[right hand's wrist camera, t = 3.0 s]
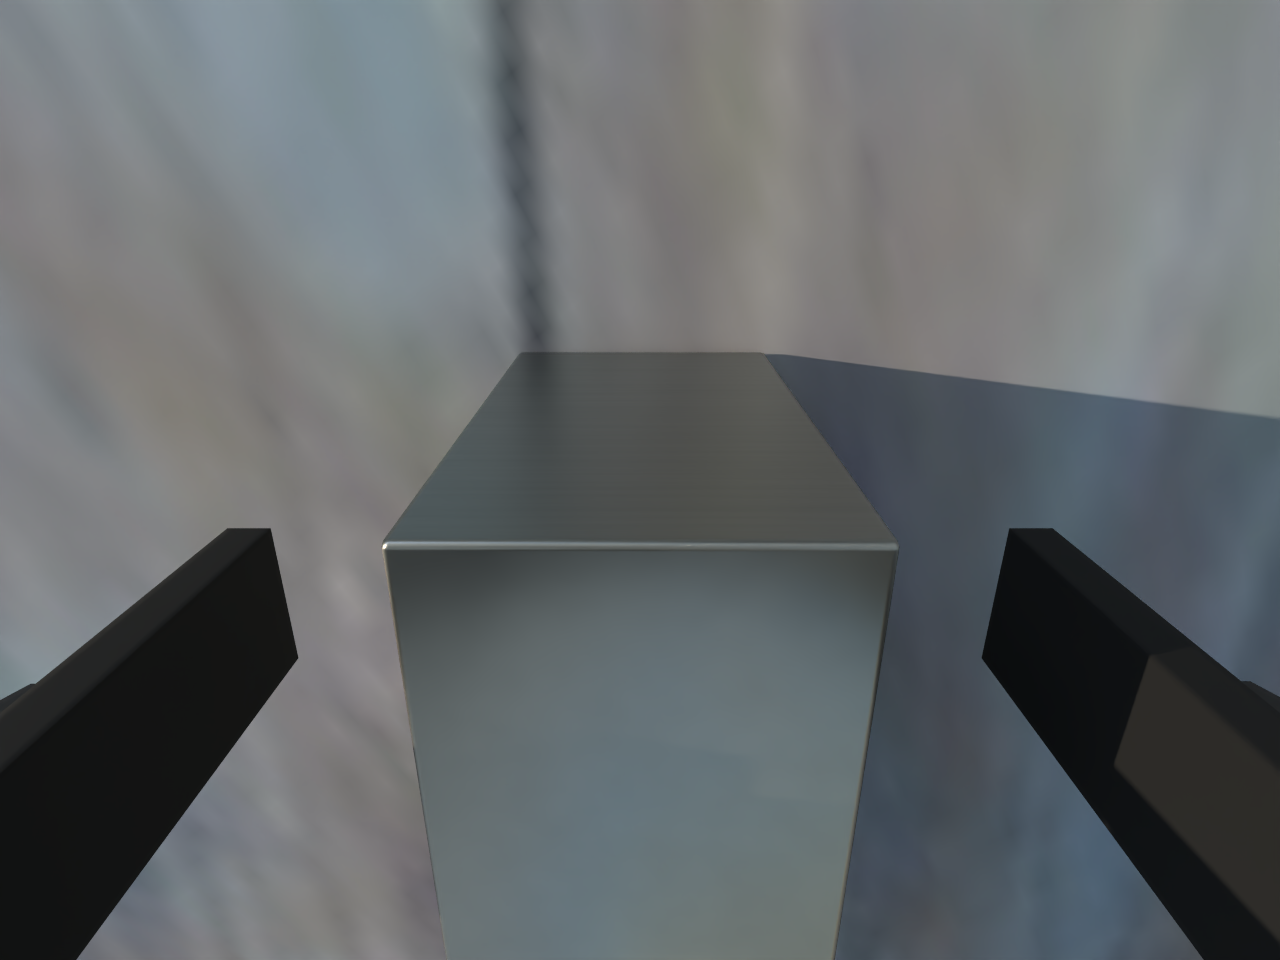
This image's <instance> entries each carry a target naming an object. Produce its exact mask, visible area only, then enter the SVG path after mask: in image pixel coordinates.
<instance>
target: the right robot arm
mask: <svg viewBox="0 0 1280 960" xmlns="http://www.w3.org/2000/svg"><path fill="white" fill-rule="evenodd" d="M297 659H298V654H297V650H296V645H295V640H294V636H293V631H292V626H291V622H290V617H289V612H288V608H287V603H286V598H285V593H284V589H283V584H282V579H281V575H280V570H279V565H278V561H277V556H276V551H275V547H274V542H273V537H272V533H271V528H227V529H226V530H225V531H224V532H222V533H221V534H220V535H219V536H218V537H216V538H215V539H214V540H213V541H211V542H210V543H209V544H208V545H206V546H205V547H204V548H203V549H201V550H200V551H199V552H198V553H197V554H195V555H194V556H193V557H192V558H190V559H189V560H188V561H187V562H185V563H184V564H183V565H182V566H181V567H179V568H178V569H177V570H176V571H174V572H173V573H172V574H171V575H169V576H168V577H167V578H166V579H164V580H163V581H162V582H161V583H160V584H158V585H157V586H156V587H155V588H153V589H152V590H151V591H150V592H148V593H147V594H146V595H145V596H144V597H142V598H141V599H140V600H139V601H137V602H136V603H135V604H134V605H132V606H131V607H130V608H129V609H127V610H126V611H125V612H124V613H123V614H121V615H120V616H119V617H118V618H116V619H115V620H114V621H113V622H111V623H110V624H109V625H108V626H107V627H105V628H104V629H103V630H102V631H100V632H99V633H98V634H97V635H95V636H94V637H93V638H92V639H90V640H89V641H88V642H87V643H86V644H84V645H83V646H82V647H81V648H79V649H78V650H77V651H76V652H74V653H73V654H72V655H71V656H70V657H68V658H67V659H66V660H65V661H63V662H62V663H61V664H60V665H58V666H57V667H56V668H55V669H53V670H52V671H51V672H50V673H49V674H47V675H46V676H45V677H44V678H42V679H41V680H40V681H39V682H37V683H36V684H30V685H28V686H26V687H24V688H22V689H20V690H18V691H17V692H15V693H13V694H11V695H9V696H7V697H5V698H3V699H2V700H0V960H76V959H77V958H78V957H79V955H80V954H81V953H82V951H83V950H84V948H85V947H86V946H87V944H88V943H89V942H90V940H91V939H92V938H93V936H94V935H95V933H96V932H97V931H98V929H99V928H100V927H101V925H102V924H103V923H104V921H105V920H106V919H107V917H108V916H109V914H110V913H111V912H112V910H113V909H114V908H115V906H116V905H117V904H118V902H119V901H120V900H121V898H122V897H123V895H124V894H125V893H126V891H127V890H128V889H129V887H130V886H131V885H132V883H133V882H134V881H135V879H136V878H137V876H138V875H139V874H140V872H141V871H142V870H143V868H144V867H145V866H146V864H147V863H148V862H149V860H150V859H151V857H152V856H153V855H154V853H155V852H156V851H157V849H158V848H159V847H160V845H161V844H162V842H163V841H164V840H165V838H166V837H167V836H168V834H169V833H170V832H171V830H172V829H173V828H174V826H175V825H176V823H177V822H178V821H179V819H180V818H181V817H182V815H183V814H184V813H185V811H186V810H187V809H188V807H189V806H190V804H191V803H192V802H193V800H194V799H195V798H196V796H197V795H198V794H199V792H200V791H201V790H202V788H203V787H204V785H205V784H206V783H207V781H208V780H209V779H210V777H211V776H212V775H213V773H214V772H215V771H216V769H217V768H218V766H219V765H220V764H221V762H222V761H223V760H224V758H225V757H226V756H227V754H228V753H229V751H230V750H231V749H232V747H233V746H234V745H235V743H236V742H237V741H238V739H239V738H240V737H241V735H242V734H243V732H244V731H245V730H246V728H247V727H248V726H249V724H250V723H251V722H252V720H253V719H254V718H255V716H256V715H257V713H258V712H259V711H260V709H261V708H262V707H263V705H264V704H265V703H266V701H267V700H268V699H269V697H270V696H271V694H272V693H273V692H274V690H275V689H276V688H277V686H278V685H279V684H280V682H281V681H282V680H283V678H284V677H285V675H286V674H287V673H288V671H289V670H290V669H291V667H292V666H293V665H294V663H295V662H296V660H297ZM982 659H983V660H984V662H985V663H986V665H987V666H988V667H989V669H990V670H991V671H992V673H993V674H994V675H995V677H996V678H997V680H998V681H999V682H1000V684H1001V685H1002V686H1003V688H1004V689H1005V690H1006V692H1007V693H1008V694H1009V696H1010V697H1011V699H1012V700H1013V701H1014V703H1015V704H1016V705H1017V707H1018V708H1019V709H1020V711H1021V712H1022V713H1023V715H1024V716H1025V718H1026V719H1027V720H1028V722H1029V723H1030V724H1031V726H1032V727H1033V728H1034V730H1035V731H1036V732H1037V734H1038V735H1039V737H1040V738H1041V739H1042V741H1043V742H1044V743H1045V745H1046V746H1047V747H1048V749H1049V750H1050V751H1051V753H1052V754H1053V756H1054V757H1055V758H1056V760H1057V761H1058V762H1059V764H1060V765H1061V766H1062V768H1063V769H1064V771H1065V772H1066V773H1067V775H1068V776H1069V777H1070V779H1071V780H1072V781H1073V783H1074V784H1075V785H1076V787H1077V788H1078V790H1079V791H1080V792H1081V794H1082V795H1083V796H1084V798H1085V799H1086V800H1087V802H1088V803H1089V804H1090V806H1091V807H1092V809H1093V810H1094V811H1095V813H1096V814H1097V815H1098V817H1099V818H1100V819H1101V821H1102V822H1103V823H1104V825H1105V826H1106V828H1107V829H1108V830H1109V832H1110V833H1111V834H1112V836H1113V837H1114V838H1115V840H1116V841H1117V842H1118V844H1119V845H1120V847H1121V848H1122V849H1123V851H1124V852H1125V853H1126V855H1127V856H1128V857H1129V859H1130V860H1131V862H1132V863H1133V864H1134V866H1135V867H1136V868H1137V870H1138V871H1139V872H1140V874H1141V875H1142V876H1143V878H1144V879H1145V881H1146V882H1147V883H1148V885H1149V886H1150V887H1151V889H1152V890H1153V891H1154V893H1155V894H1156V895H1157V897H1158V898H1159V900H1160V901H1161V902H1162V904H1163V905H1164V906H1165V908H1166V909H1167V910H1168V912H1169V913H1170V914H1171V916H1172V917H1173V919H1174V920H1175V921H1176V923H1177V924H1178V925H1179V927H1180V928H1181V929H1182V931H1183V932H1184V933H1185V935H1186V936H1187V938H1188V939H1189V940H1190V942H1191V943H1192V944H1193V946H1194V947H1195V948H1196V950H1197V951H1198V953H1199V954H1200V955H1201V957H1202V958H1203V959H1204V960H1280V697H1279V696H1277V695H1275V694H1273V693H1271V692H1269V691H1267V690H1265V689H1264V688H1262V687H1260V686H1258V685H1256V684H1254V683H1252V682H1250V681H1240V680H1239V679H1238V678H1236V677H1235V676H1234V675H1233V674H1231V673H1230V672H1229V671H1228V670H1226V669H1225V668H1224V667H1223V666H1222V665H1220V664H1219V663H1218V662H1217V661H1215V660H1214V659H1213V658H1212V657H1210V656H1209V655H1208V654H1207V653H1206V652H1204V651H1203V650H1202V649H1201V648H1199V647H1198V646H1197V645H1196V644H1194V643H1193V642H1192V641H1191V640H1190V639H1188V638H1187V637H1186V636H1185V635H1183V634H1182V633H1181V632H1180V631H1178V630H1177V629H1176V628H1175V627H1173V626H1172V625H1171V624H1170V623H1169V622H1167V621H1166V620H1165V619H1164V618H1162V617H1161V616H1160V615H1159V614H1157V613H1156V612H1155V611H1154V610H1153V609H1151V608H1150V607H1149V606H1148V605H1146V604H1145V603H1144V602H1143V601H1141V600H1140V599H1139V598H1138V597H1136V596H1135V595H1134V594H1133V593H1132V592H1130V591H1129V590H1128V589H1127V588H1125V587H1124V586H1123V585H1122V584H1120V583H1119V582H1118V581H1117V580H1116V579H1114V578H1113V577H1112V576H1111V575H1109V574H1108V573H1107V572H1106V571H1104V570H1103V569H1102V568H1101V567H1099V566H1098V565H1097V564H1096V563H1095V562H1093V561H1092V560H1091V559H1090V558H1088V557H1087V556H1086V555H1085V554H1083V553H1082V552H1081V551H1080V550H1079V549H1077V548H1076V547H1075V546H1074V545H1072V544H1071V543H1070V542H1069V541H1067V540H1066V539H1065V538H1064V537H1062V536H1061V535H1060V534H1059V533H1058V532H1056V531H1055V530H1054V529H1053V528H1009V533H1008V537H1007V542H1006V547H1005V551H1004V556H1003V561H1002V565H1001V570H1000V575H999V579H998V584H997V589H996V593H995V598H994V603H993V607H992V612H991V617H990V622H989V626H988V631H987V636H986V640H985V645H984V650H983V654H982Z"/></svg>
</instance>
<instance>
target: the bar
mask: <svg viewBox="0 0 1280 960" xmlns="http://www.w3.org/2000/svg"><path fill="white" fill-rule="evenodd" d="M382 552H383V558H384V564H385V571H386V577H387V583H388V590H389V596H390V603H391V609H392V615H393V622H394V628H395V635H396V641H397V647H398V654H399V660H400V667H401V673H402V679H403V686H404V692H405V698H406V705H407V711H408V718H409V724H410V730H411V737H412V743H413V750H414V756H415V762H416V769H417V775H418V781H419V788H420V794H421V801H422V807H423V813H424V820H425V826H426V833H427V839H428V845H429V852H430V858H431V864H432V871H433V877H434V884H435V890H436V896H437V903H438V909H439V916H440V922H441V928H442V935H443V941H444V947H445V954H446V960H835V953H836V947H837V941H838V934H839V928H840V922H841V915H842V909H843V903H844V896H845V890H846V883H847V877H848V871H849V864H850V858H851V852H852V845H853V839H854V833H855V826H856V820H857V813H858V807H859V801H860V794H861V788H862V782H863V775H864V769H865V763H866V756H867V750H868V744H869V737H870V731H871V724H872V718H873V712H874V705H875V699H876V693H877V686H878V680H879V674H880V667H881V661H882V655H883V648H884V642H885V635H886V629H887V623H888V616H889V610H890V604H891V597H892V591H893V585H894V578H895V572H896V565H897V559H898V553H899V544H898V541H897V540H896V538H895V537H894V535H893V534H892V533H891V531H890V530H889V528H888V527H887V526H886V524H885V523H884V521H883V520H882V519H881V517H880V516H879V514H878V513H877V512H876V510H875V509H874V507H873V506H872V505H871V503H870V502H869V500H868V499H867V498H866V496H865V495H864V493H863V492H862V491H861V489H860V488H859V486H858V485H857V484H856V482H855V481H854V479H853V478H852V477H851V475H850V474H849V472H848V471H847V470H846V468H845V467H844V465H843V464H842V463H841V461H840V460H839V458H838V457H837V456H836V454H835V453H834V451H833V450H832V449H831V447H830V446H829V444H828V443H827V442H826V440H825V439H824V437H823V436H822V435H821V433H820V432H819V430H818V429H817V428H816V426H815V425H814V423H813V422H812V421H811V419H810V418H809V416H808V415H807V414H806V412H805V411H804V409H803V408H802V407H801V405H800V404H799V402H798V401H797V400H796V398H795V397H794V395H793V394H792V393H791V391H790V390H789V388H788V387H787V386H786V384H785V383H784V381H783V380H782V379H781V377H780V376H779V374H778V373H777V371H776V370H775V369H774V367H773V366H772V364H771V363H770V362H769V360H768V359H767V357H766V356H765V355H764V354H763V353H520V354H519V355H518V356H517V358H516V359H515V360H514V362H513V363H512V365H511V366H510V367H509V369H508V370H507V371H506V373H505V374H504V376H503V377H502V378H501V380H500V381H499V382H498V384H497V385H496V387H495V388H494V389H493V391H492V392H491V393H490V395H489V396H488V398H487V399H486V400H485V402H484V403H483V404H482V406H481V407H480V409H479V410H478V411H477V413H476V414H475V415H474V417H473V418H472V419H471V421H470V422H469V424H468V425H467V426H466V428H465V429H464V430H463V432H462V433H461V435H460V436H459V437H458V439H457V440H456V441H455V443H454V444H453V446H452V447H451V448H450V450H449V451H448V452H447V454H446V455H445V457H444V458H443V459H442V461H441V462H440V463H439V465H438V466H437V468H436V469H435V470H434V472H433V473H432V474H431V476H430V477H429V479H428V480H427V481H426V483H425V484H424V485H423V487H422V488H421V489H420V491H419V492H418V494H417V495H416V496H415V498H414V499H413V500H412V502H411V503H410V505H409V506H408V507H407V509H406V510H405V511H404V513H403V514H402V516H401V517H400V518H399V520H398V521H397V522H396V524H395V525H394V527H393V528H392V529H391V531H390V532H389V533H388V535H387V536H386V538H385V539H384V540H383V544H382Z"/></svg>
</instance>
